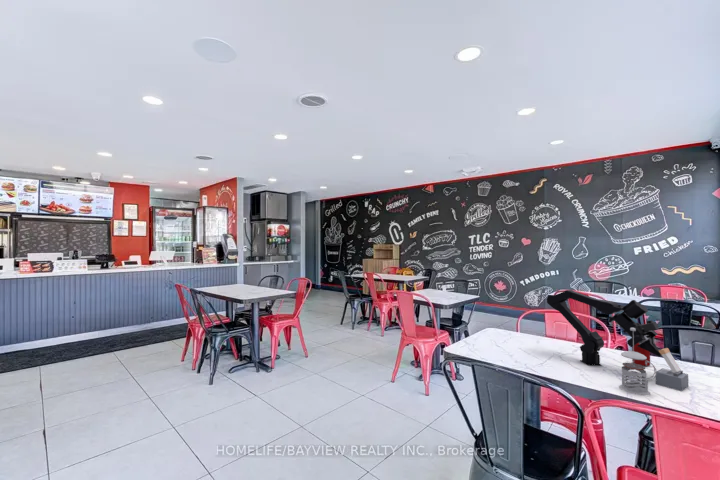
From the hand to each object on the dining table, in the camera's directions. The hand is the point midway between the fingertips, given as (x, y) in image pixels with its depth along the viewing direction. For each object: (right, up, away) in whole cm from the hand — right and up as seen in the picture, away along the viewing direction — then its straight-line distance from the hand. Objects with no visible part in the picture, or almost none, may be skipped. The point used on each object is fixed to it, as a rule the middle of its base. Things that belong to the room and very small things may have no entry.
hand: (660, 355), depth 137 cm
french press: (-18, -11, -9) cm, 23 cm away
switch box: (+2, -11, -3) cm, 12 cm away
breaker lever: (+3, -5, -5) cm, 8 cm away
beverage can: (+11, -12, +22) cm, 27 cm away
